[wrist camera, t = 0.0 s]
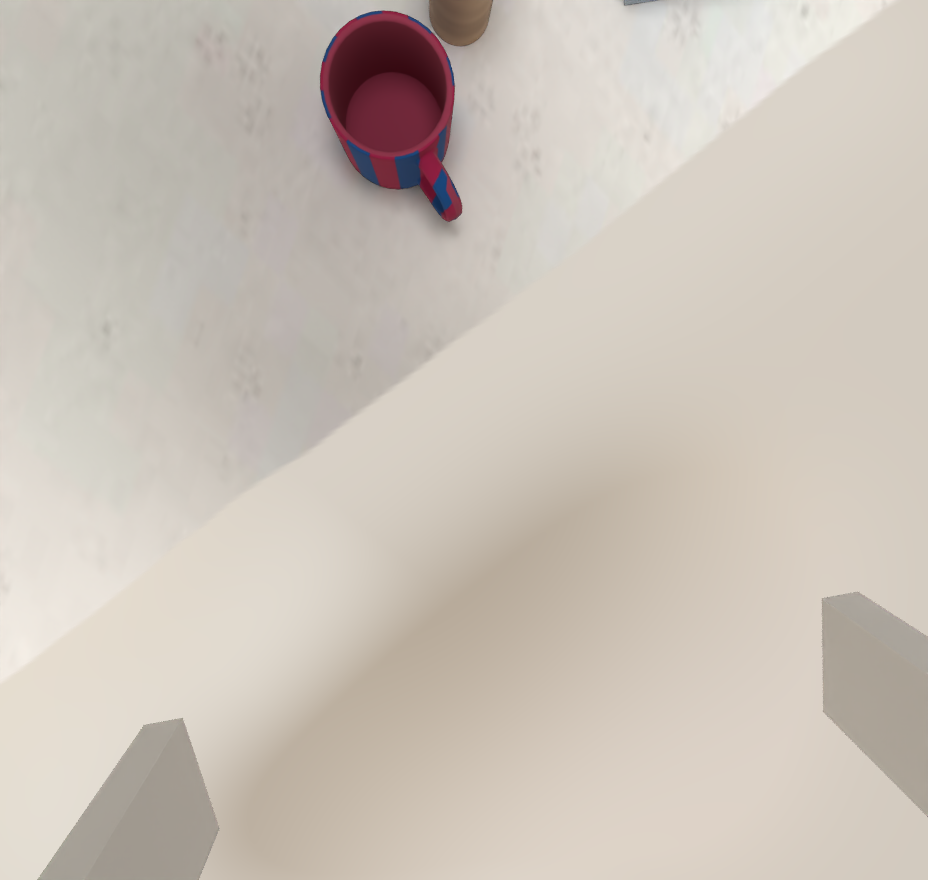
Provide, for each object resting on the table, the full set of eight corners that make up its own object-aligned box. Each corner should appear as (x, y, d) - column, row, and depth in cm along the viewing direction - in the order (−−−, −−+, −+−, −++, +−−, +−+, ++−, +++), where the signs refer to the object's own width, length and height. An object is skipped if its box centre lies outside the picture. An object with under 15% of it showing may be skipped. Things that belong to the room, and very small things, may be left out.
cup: (419, 50, 33) (418, -16, 26) (488, 211, 35) (502, 187, 29) (321, 101, 33) (295, 48, 27) (396, 257, 36) (388, 244, 29)
